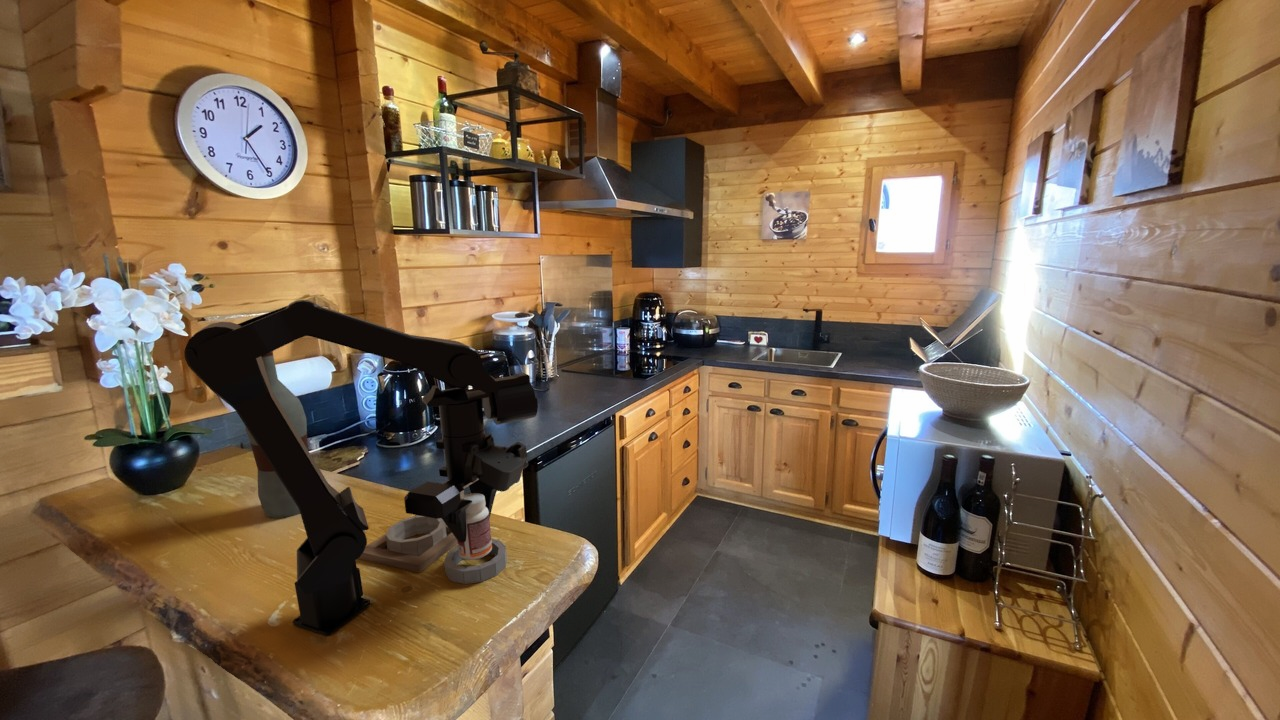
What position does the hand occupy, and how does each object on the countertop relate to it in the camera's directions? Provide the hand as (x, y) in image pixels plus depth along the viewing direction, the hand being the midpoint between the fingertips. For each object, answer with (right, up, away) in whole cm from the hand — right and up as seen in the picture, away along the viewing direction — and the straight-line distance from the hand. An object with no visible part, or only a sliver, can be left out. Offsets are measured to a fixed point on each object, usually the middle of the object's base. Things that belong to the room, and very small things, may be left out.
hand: (473, 532), depth 77 cm
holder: (0, -5, +1) cm, 5 cm away
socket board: (-11, -4, +8) cm, 14 cm away
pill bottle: (0, -3, +1) cm, 3 cm away
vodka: (-41, -3, +22) cm, 47 cm away
